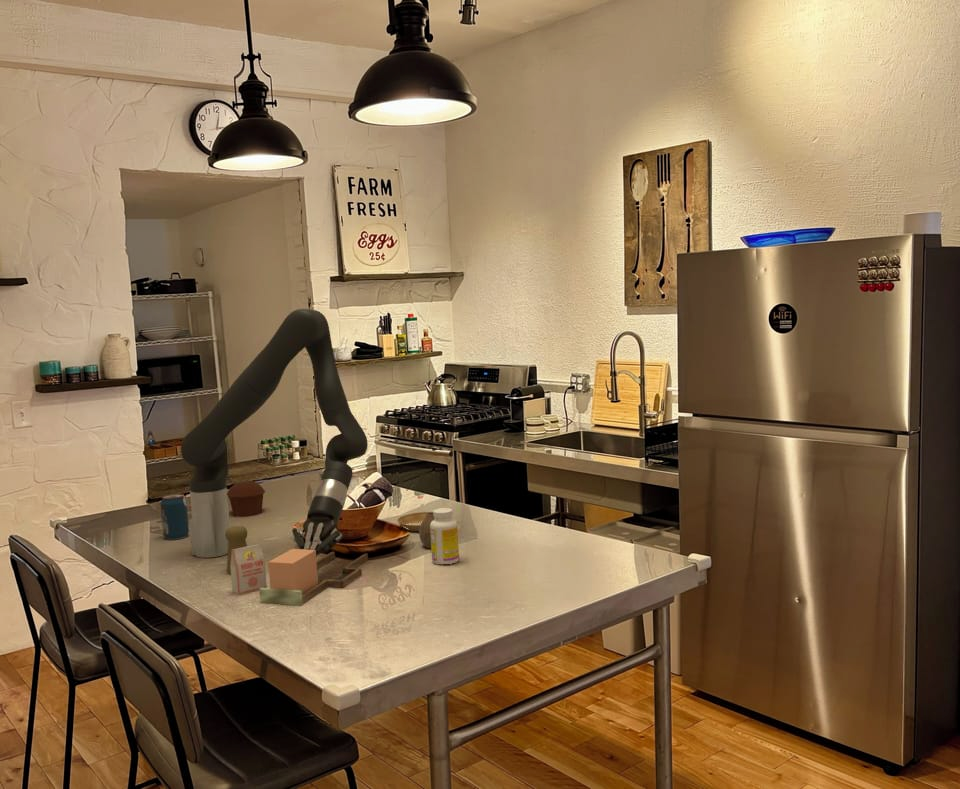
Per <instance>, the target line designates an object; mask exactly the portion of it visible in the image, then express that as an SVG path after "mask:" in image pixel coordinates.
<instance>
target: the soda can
mask: <svg viewBox="0 0 960 789" xmlns="http://www.w3.org/2000/svg"><path fill="white" fill-rule="evenodd" d="M187 503H188V502H187V500H186V498H185V495H184V494H183V493H170V494H165V495H163V496H162V498H161V501H160V514H161V525H162V534H163V537H164V538H165V539H166V540H170V541H171V540H172V541H173V540H175V541H176V540H180V539H181V540H182V539H185V538H186V537H187V536H188V535H189V533H190V526H189V517H188V515H189V514H188V507H187V506H188V505H187Z"/></svg>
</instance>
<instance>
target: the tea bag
mask: <svg viewBox="0 0 960 789" xmlns="http://www.w3.org/2000/svg"><path fill="white" fill-rule="evenodd" d="M262 549H263V548H262V544H261V543H258V544H253V545H248V546H247V547H243V548H238V549H233V550H232V555H231V564H230V568H231V574H230V578H231V591H232V592H233V593H235V594H236V595H237V596H239V595H244V594H248V593H251V591H252V592H255V590H256V591H259V589H260V588H268V586H267V585H268V584H267V574H266V573H267V572H266V562H265V558H264V553H263V550H262ZM247 592H248V593H247ZM243 593H244V594H243Z"/></svg>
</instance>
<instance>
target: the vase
mask: <svg viewBox="0 0 960 789" xmlns="http://www.w3.org/2000/svg"><path fill="white" fill-rule="evenodd" d="M429 512H430V513H427V515H426V517H425V519H424V520H423V522H422V523H421V526H420V530H419V532H418V535H419V539H420V542H421V544H422V545H423V546H424V547H425V548H427V547H429V548H428V549H431V533H430V524H431V522H432V521H433V520H434V518H435V517H434V516H433V511H429Z"/></svg>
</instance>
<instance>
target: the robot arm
mask: <svg viewBox="0 0 960 789" xmlns="http://www.w3.org/2000/svg"><path fill="white" fill-rule="evenodd" d="M331 336H332V335H331V331H330V325H329V322H328V320H327V318H326V316H325V314H323V313H322V312H320V311H318V310H317V309H316V310H315V309H309V308H298V309H294V310H293V311H292V312H290V313H289V314H288V315H287V316H286V317H285V318H284V320H283V321H282V323H281V324H280V325H279V327H278V329H277V330H276V332H275V333H274V335H273V336H272V338H271V339H270V340H269V341H268V343H267V344H266V346H265V347H264V348H263V349H262V350H261V351H260V352H259V353H258V354H257V356H255V357H254V359H253V360H251V362H250V363H249V365H247V367H246V368H245V369H244V370H242V372H241V373H240V375H239V376H238V377H237V378H236V379H235V380H234V381H233V382H232V384H231V385H230V386H229V387H228V389H227V390H226V392H224V393H223V395H222V396H221V398H220V399H219V400H218V401H217V403H216V404H215V406H214V407H213V408H212V409H211V411H210V412H209V413H208V414H207V415H206V416H205V417H204V418H203V419H202V420H200V422H199V423H198V424H197V425H196V426H195V427H194V428H192V430H190V431H189V432H188V433H187V434H186V435H185V436H184V437H183V439H182V441H181V445H180V454H181V457H182V459H183V460H184V462H185V463H187V464H189V465H191V466H194V470H193V474H192V476H191V477H190V479H189V484H188V487H189V496H190V507H191V518H189V519H188V526H189V534H190V546H191V548H190V549H191V556H195V557H198V558H203V559H204V558H205V559H206V558H207V559H209V558H215V557H221V556H225V555H228V540H227V539H226V536H225V533H226V530H227V529H228V528H230V527H231V526H230V523H231V522H230V513H229V512H230V511H229V500H228V499H229V498H228V495H227V493H228V490H227V480H228V479H227V478H228V476H229V455H228V453H229V452H228V443H227V437H228V436H229V435H230V434H231V433H232V432H233V431H235V429H236V428H238V427H239V426H240V425H241V424H242V423H244V422H245V421H246V420H247V419H249V418H250V417H252V416H253V415H254V414H256V412H257V411H258V410H259V409H260V408H262V406H264V404H265V403H266V402H267V401H268V399H269V398H270V397H271V396H272V395H273V394H274V392H275V391H276V390H277V388H278V387H279V384H280V382H281V380H282V377H283V375H284V373H285V370H286V368H287V367H288V365H289V364H290V363H291V362H292V361H293V359H294V358H295V357H296V356H297V355H298V354H299V353H300V352H301V351H302V350H304V349H306V352H307V354H308V356H309V359H310V361H311V362H310V363H311V365H312V371H313V377H314V378H313V380H314V382H313V383H314V391H315V396H316V400H317V403H318V407H319V410H320V413H321V415H322V418H323V420H324V423H325V424H326V426H328V427H334V426H335V427H336V428H337V429H338V431H339V432H340V434H336V435H333V437H331V439H330V440H329V442H328V443H327V445H326V448H325V456H324V457H325V458H324V459H325V460H324V469H323V473H322V474H321V478H320V481H319V482H318V484H317V487H316V488H315V492H314V495H313V498H312V500H311V502H310V505H309V506H310V507H309V508H308V511H307V512H308V513H307V517H306V519H305V521H304V522H303V523H302V526H301V527H299V528H296V527H294V528H293V529H292V530H291V532H292V535H293V537H294V540H295V542H296V544H297V547H298V549H304V550H316V559H317V557H318V556H319V555H320V554H324V555H325V554H327V553H328V552H329V551H330V550H331V549H332V548H334V547H335V546H336V545H338V543H339V542H341V541H342V540H343V538H344V536H343V534H342V532H340V530H338V524H339V521H340V519H341V515H342V513H343V509H344V507H345V504H346V499H347V495H348V491H349V487H350V485H351V481H352V479H353V469H352V467H351V466H350V465H349V464H348V462H349V461H352V460H354V459H357V458H360V457H362V456H364V455H365V454H366V452H367V450H368V445H369V444H368V438H367V435H366V432H365V431H364V429H363V428H362V427H361V425H360V423H359V421H358V420H357V419H356V418H355V416H354V414H353V413H352V411H351V408H350V405H349V403H348V398H347V396H346V394H345V391H344V388H343V385H342V382H341V378H340V375H339V372H338V371H339V370H338V367H337V362H336V358H335V353H334V349H333V344H332V338H331ZM304 538H305V541H304Z"/></svg>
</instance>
